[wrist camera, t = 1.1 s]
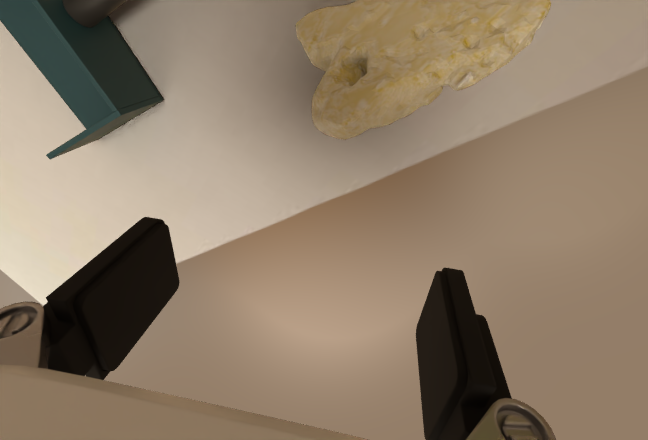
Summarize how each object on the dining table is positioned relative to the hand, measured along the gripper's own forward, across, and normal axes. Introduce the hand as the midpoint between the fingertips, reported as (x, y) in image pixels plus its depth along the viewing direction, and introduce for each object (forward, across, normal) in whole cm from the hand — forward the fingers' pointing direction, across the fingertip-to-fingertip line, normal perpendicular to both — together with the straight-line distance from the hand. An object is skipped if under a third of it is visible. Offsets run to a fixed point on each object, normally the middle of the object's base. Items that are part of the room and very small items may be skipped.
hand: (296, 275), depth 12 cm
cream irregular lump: (+24, -3, -6) cm, 25 cm away
